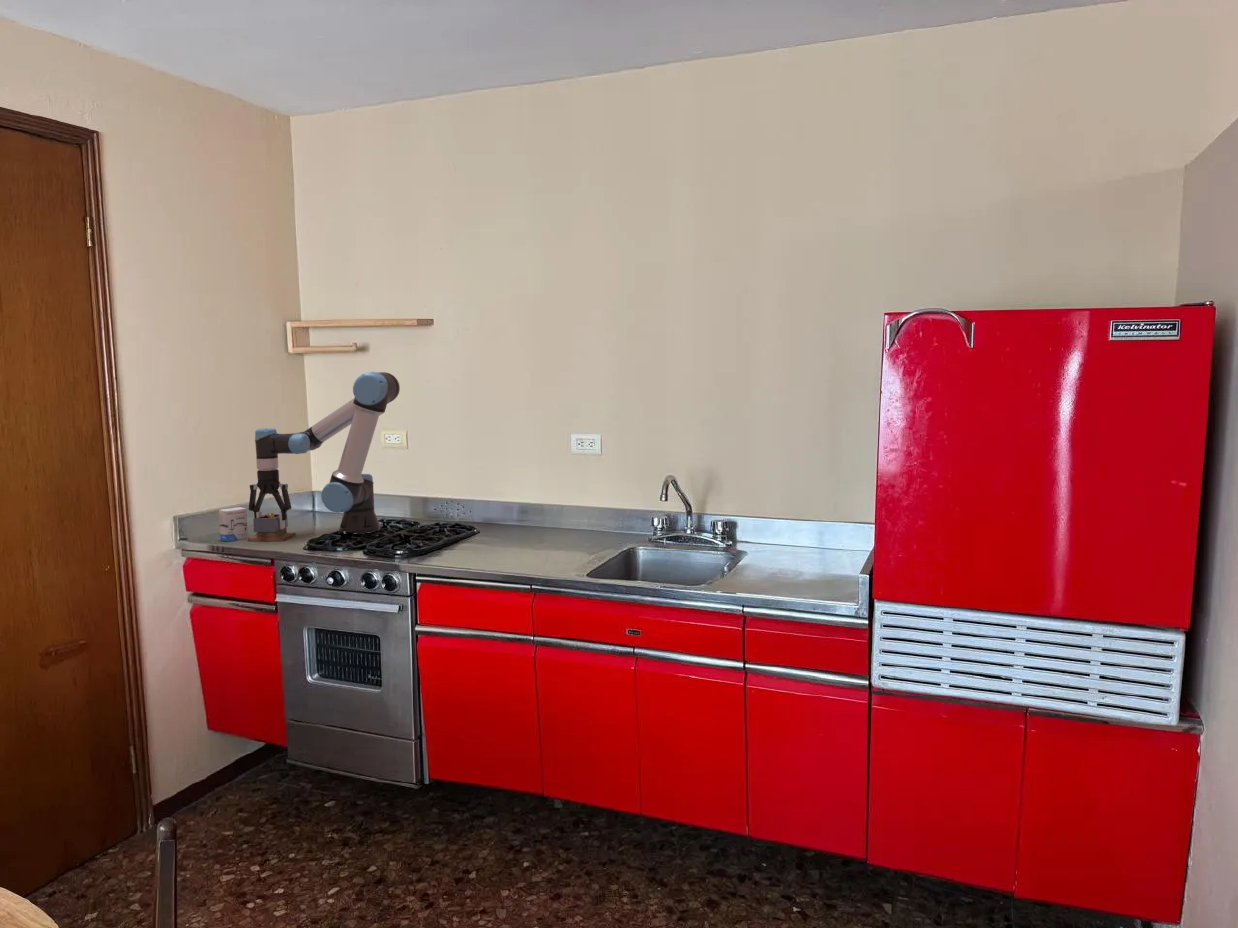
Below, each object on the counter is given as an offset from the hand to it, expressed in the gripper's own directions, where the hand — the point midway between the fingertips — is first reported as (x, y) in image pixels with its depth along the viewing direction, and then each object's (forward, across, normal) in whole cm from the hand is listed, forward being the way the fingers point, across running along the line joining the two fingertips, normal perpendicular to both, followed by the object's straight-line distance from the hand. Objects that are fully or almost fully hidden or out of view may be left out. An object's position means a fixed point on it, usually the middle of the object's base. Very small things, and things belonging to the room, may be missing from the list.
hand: (271, 528), depth 310 cm
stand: (+4, 0, 0) cm, 4 cm away
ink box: (+4, +14, +1) cm, 15 cm away
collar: (0, 0, 0) cm, 0 cm away
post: (+1, 0, 0) cm, 1 cm away
